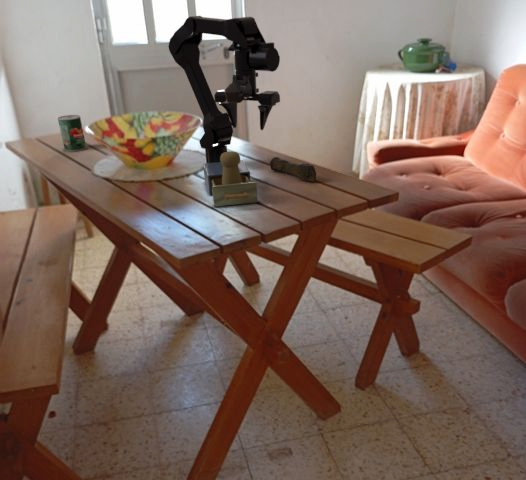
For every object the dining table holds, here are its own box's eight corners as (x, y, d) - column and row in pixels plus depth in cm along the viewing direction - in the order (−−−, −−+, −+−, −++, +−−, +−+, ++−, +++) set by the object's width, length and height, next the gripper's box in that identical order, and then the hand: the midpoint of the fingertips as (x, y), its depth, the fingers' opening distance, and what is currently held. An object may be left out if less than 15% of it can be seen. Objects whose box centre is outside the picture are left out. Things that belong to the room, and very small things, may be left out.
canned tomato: (83, 151, 203) (76, 118, 197) (61, 151, 203) (54, 119, 197) (89, 145, 210) (82, 114, 204) (68, 146, 210) (61, 115, 204)
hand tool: (269, 171, 172) (268, 155, 170) (279, 168, 174) (279, 153, 171) (307, 185, 159) (307, 168, 156) (318, 182, 161) (319, 166, 158)
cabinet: (251, 191, 156) (250, 171, 153) (209, 195, 154) (207, 175, 151) (243, 179, 166) (242, 160, 163) (204, 182, 165) (203, 163, 162)
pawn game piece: (229, 199, 147) (226, 156, 141) (217, 194, 152) (213, 152, 146) (248, 194, 150) (245, 152, 144) (235, 189, 154) (232, 148, 148)
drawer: (260, 206, 145) (259, 186, 142) (215, 211, 143) (213, 190, 140) (249, 188, 158) (248, 169, 155) (208, 192, 156) (206, 173, 153)
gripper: (201, 72, 153) (206, 132, 162) (260, 74, 146) (262, 137, 154) (222, 67, 161) (226, 124, 170) (280, 69, 154) (281, 128, 162)
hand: (248, 128), depth 164 cm, fingers open, 9 cm apart
